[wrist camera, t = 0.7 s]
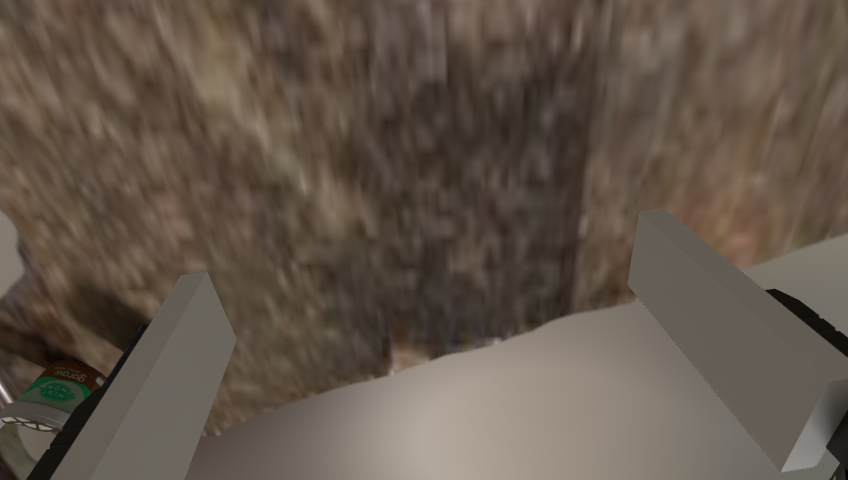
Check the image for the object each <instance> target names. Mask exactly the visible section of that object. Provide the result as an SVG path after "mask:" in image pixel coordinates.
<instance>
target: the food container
mask: <svg viewBox="0 0 848 480" xmlns="http://www.w3.org/2000/svg"><path fill="white" fill-rule="evenodd" d="M106 379H107V377H105V376H104V375H103V374H102V373H101V372H99V371H98V370H96V369H94V368H92V367H90V366H88V365H85V364H82V363H79V362H75V361H69V360H58V361H55V362H53V363H52V364H51V365H50V366H49V367H48V368H47V369H46V370H45V371H44V372H43V373H42V374H41V375H40V376H39V377H38V378H37V379H36V380H35V381H34V383H33V384H32V385H31V386H30V387H29V388H28V389H27V390H26V391H25V392H24V393H23V394H22V395H21V396H20V397H19V398H18V399H17V400H16V402H14V403H9V404H7V405H5V407H4V408H3V410H2V412H1V414H0V428H1V427H2V426H3V425H4V424H5V423H8V424H16V425H23V426H26V427H29V428H32V429H35V430H38V431H45V432H62V427H63V425H64V424H65V423H66V421H67V420H68V418H69V417H70V415H71V414H72V412H73V411H74V409H75V408H76V407H77V406H78V405H79V404H80V403H81V402H82V401H83V400H85V399H86V398H87V397H88V396H89V395H90V394H91V393H92V392H93V391H94V390H96V389H97V388H100V387H101V386H102V384H103V383H104V382H105V380H106Z"/></svg>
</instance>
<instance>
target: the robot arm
mask: <svg viewBox="0 0 848 480" xmlns="http://www.w3.org/2000/svg"><path fill="white" fill-rule="evenodd" d="M628 286H629V287H630V288H631V289H632V290H633V292H634V293H635V294H636V295H637V297H638V298H639V299H640V300H641V302H642V303H643V304H644V305H645V306H646V308H647V309H648V310H649V311H650V313H651V314H652V315H653V316H654V317H655V319H656V320H657V321H658V322H659V324H660V325H661V326H662V327H663V328H664V330H665V331H666V332H667V333H668V335H669V336H670V337H671V338H672V340H673V341H674V342H675V343H676V344H677V346H678V347H679V348H680V349H681V351H683V353H684V354H685V356H686V357H687V358H688V359H689V360H690V362H691V363H692V364H693V365H694V366H695V368H696V369H697V370H698V372H699V373H700V374H701V375H702V376H703V378H704V379H705V380H706V381H707V383H708V384H709V385H710V386H711V388H712V389H713V390H714V391H715V392H716V394H717V395H718V396H719V397H720V399H721V400H722V401H723V402H724V403H725V405H726V406H727V407H728V408H729V409H730V411H731V412H732V413H733V415H734V416H735V417H736V418H737V419H738V421H739V422H740V423H741V424H742V426H743V427H744V428H745V429H746V431H747V432H748V433H749V434H750V435H751V436H752V438H753V439H754V440H755V442H756V443H757V444H758V445H759V446H760V448H761V449H762V450H763V451H764V453H765V454H766V455H767V456H768V457H769V459H770V460H771V461H772V462H773V464H774V465H775V466H776V467H777V469H778V470H779V471H780V472H785V471H792V470H798V469H805V468H811V467H816V466H817V464H818V462H819V460H820V459H821V457H822V455H823V453H824V452H825V450H826V449H828V450H829V451H830V452H831V453H832V455H833V456H834V457H835V458H836V459H837V460H838V461H839V462H840V464H839V466H838V467H837V469H836V471H835V472H834V474H833V475H832V477H831V478H830V480H848V337H846V336H845V335H844V334H843V333H841V332H840V331H836V330H835V327H833V326H832V325H831V324H829V323H828V322H827V321H826V320H824V319H820V318H819V315H818V314H816V313H815V312H814V311H812V310H811V309H810V308H809V307H807V306H806V305H805V304H804V303H802V302H801V301H800V300H798V299H795V298H793V297H791V296H789V295H787V294H785V293H783V292H781V291H779V290H776V289H770V290H764V289H762V288H761V287H760V286H759V285H757V284H756V283H755V282H754V281H752V280H751V279H750V278H749V277H748V276H746V275H745V274H744V273H743V272H741V271H740V270H739V269H738V268H737V267H735V266H734V265H733V264H732V263H730V262H729V261H728V260H727V259H725V258H724V257H723V256H722V255H720V254H719V253H718V252H717V251H716V250H714V249H713V248H712V247H711V246H709V245H708V244H707V243H706V242H704V241H703V240H702V239H701V238H700V237H698V236H697V235H696V234H695V233H693V232H692V231H691V230H690V229H688V228H687V227H686V226H685V225H684V224H682V223H681V222H680V221H679V220H677V219H676V218H675V217H674V216H672V215H671V214H670V213H669V212H668V211H666V210H665V209H657V210H649V211H642V212H639V217H638V223H637V229H636V235H635V241H634V247H633V253H632V259H631V265H630V272H629V278H628ZM236 341H237V339H236V337H235V335H234V333H233V330H232V328H231V326H230V323H229V321H228V319H227V317H226V314H225V312H224V310H223V307H222V305H221V303H220V301H219V298H218V296H217V294H216V291H215V289H214V287H213V284H212V282H211V280H210V278H209V275H208V273H207V272H202V273H195V274H188V275H181V276H180V278H179V279H178V281H177V283H176V284H175V286H174V287H173V289H172V290H171V292H170V293H169V295H168V297H167V298H166V300H165V301H164V303H163V304H162V306H161V307H160V309H159V311H158V312H157V314H156V315H155V317H154V318H153V320H152V321H151V323H150V325H149V326H148V328H147V329H146V331H145V332H144V334H143V335H142V337H141V339H140V340H139V342H138V343H137V345H136V346H135V348H134V349H133V351H132V353H131V354H130V356H129V357H128V359H127V360H126V362H125V363H124V365H123V367H122V368H121V370H120V371H119V373H118V374H117V376H116V377H115V379H114V381H113V382H112V384H111V385H110V386H108V387H101V388H97V389H96V390H94V391H93V392H92V393H91V394H90V395H89V396H88V397H87V398H86V399H85V400H83V401H82V402H81V403H80V404H79V405H78V406H77V407H76V408H75V409H74V411H73V412H72V414H71V415H70V417H69V418H68V420H67V421H66V423H65V424H64V425H63V427H62V432H59V433H58V434H57V436H56V437H55V438H54V440H53V442H52V443H51V444H50V449H48V450H46V452H45V453H44V454H43V456H42V457H41V459H40V460H39V462H38V463H37V465H36V466H35V467H34V469H33V470H32V472H31V473H30V475H29V476H28V478H27V479H26V480H184V479H185V476H186V473H187V471H188V468H189V465H190V463H191V460H192V457H193V455H194V452H195V449H196V447H197V444H198V441H199V439H200V436H201V434H202V431H203V428H204V426H205V423H206V420H207V418H208V415H209V412H210V410H211V407H212V404H213V402H214V399H215V396H216V394H217V391H218V388H219V386H220V383H221V381H222V378H223V375H224V373H225V370H226V367H227V365H228V362H229V359H230V357H231V354H232V351H233V349H234V346H235V343H236Z"/></svg>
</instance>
